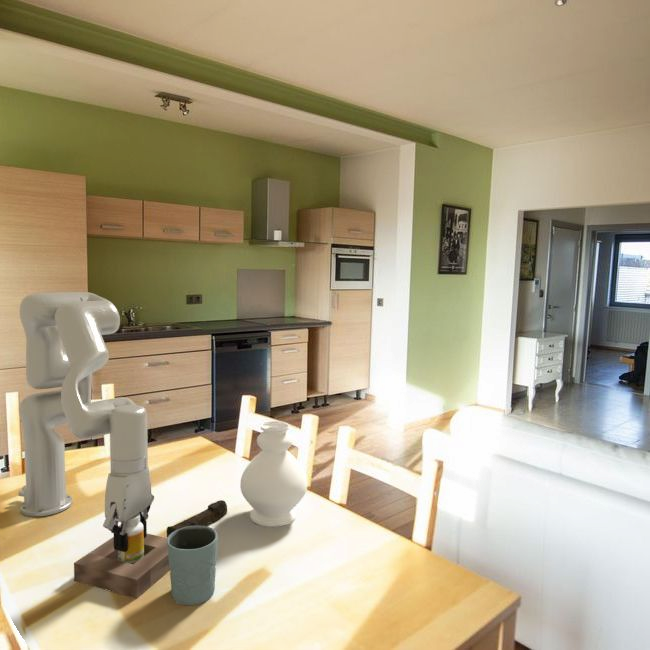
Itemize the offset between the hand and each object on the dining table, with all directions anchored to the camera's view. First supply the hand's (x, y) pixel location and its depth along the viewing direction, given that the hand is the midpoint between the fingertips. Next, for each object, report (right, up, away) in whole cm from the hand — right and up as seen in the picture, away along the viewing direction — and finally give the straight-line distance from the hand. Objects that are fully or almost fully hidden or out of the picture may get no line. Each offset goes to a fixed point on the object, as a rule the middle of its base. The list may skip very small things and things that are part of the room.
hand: (130, 542), depth 118 cm
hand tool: (+10, -5, +21) cm, 23 cm away
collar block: (0, -6, +1) cm, 6 cm away
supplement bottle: (0, -4, 0) cm, 4 cm away
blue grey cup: (+15, -8, -7) cm, 18 cm away
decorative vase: (+29, -4, +28) cm, 40 cm away
